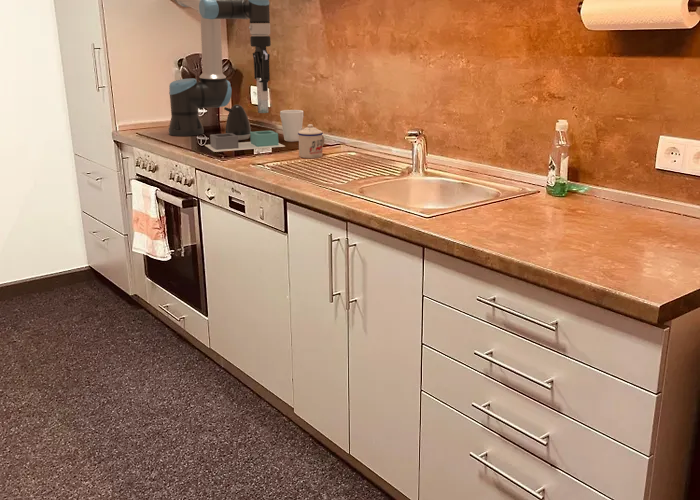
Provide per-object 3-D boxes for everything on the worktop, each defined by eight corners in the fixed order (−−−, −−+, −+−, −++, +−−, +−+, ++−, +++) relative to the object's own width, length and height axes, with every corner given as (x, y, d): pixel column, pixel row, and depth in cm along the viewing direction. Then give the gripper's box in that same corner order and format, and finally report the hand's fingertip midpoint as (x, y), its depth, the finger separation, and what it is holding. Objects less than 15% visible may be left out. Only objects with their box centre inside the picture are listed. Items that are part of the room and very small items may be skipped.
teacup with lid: (311, 159, 250) (311, 127, 247) (293, 156, 256) (292, 124, 252) (333, 154, 259) (332, 123, 256) (314, 151, 265) (314, 121, 261)
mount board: (204, 148, 271) (203, 133, 269) (272, 143, 282) (272, 128, 280) (214, 155, 257) (213, 139, 255) (285, 150, 268) (285, 134, 266)
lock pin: (256, 112, 269) (255, 77, 265) (266, 111, 271) (265, 77, 267) (259, 113, 266) (258, 78, 262) (269, 112, 267) (268, 78, 263)
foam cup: (282, 146, 277) (281, 113, 273) (279, 142, 286) (278, 110, 282) (306, 145, 279) (305, 112, 275) (302, 141, 288) (301, 109, 284)
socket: (250, 143, 274) (250, 131, 273) (271, 141, 278) (271, 130, 276) (257, 146, 267) (256, 135, 266) (278, 145, 270) (278, 133, 269)
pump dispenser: (222, 141, 289) (220, 104, 284) (247, 139, 293) (245, 102, 288) (229, 144, 280) (227, 106, 275) (254, 143, 284) (252, 105, 279)
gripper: (244, 35, 265) (247, 97, 273) (257, 36, 251) (260, 101, 258) (262, 35, 268) (265, 96, 276) (277, 35, 254) (279, 100, 261)
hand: (262, 99), depth 267 cm, fingers closed on lock pin, 4 cm apart
